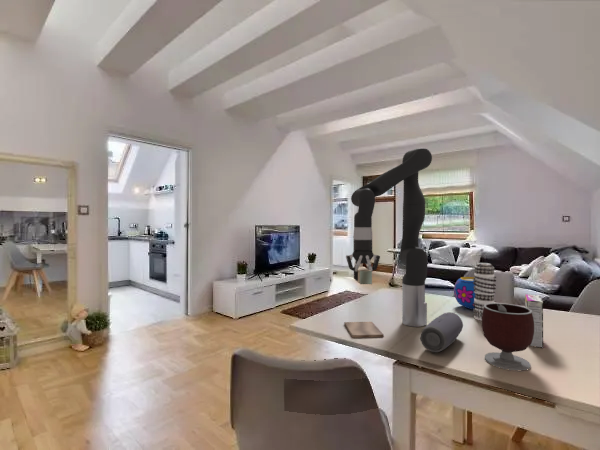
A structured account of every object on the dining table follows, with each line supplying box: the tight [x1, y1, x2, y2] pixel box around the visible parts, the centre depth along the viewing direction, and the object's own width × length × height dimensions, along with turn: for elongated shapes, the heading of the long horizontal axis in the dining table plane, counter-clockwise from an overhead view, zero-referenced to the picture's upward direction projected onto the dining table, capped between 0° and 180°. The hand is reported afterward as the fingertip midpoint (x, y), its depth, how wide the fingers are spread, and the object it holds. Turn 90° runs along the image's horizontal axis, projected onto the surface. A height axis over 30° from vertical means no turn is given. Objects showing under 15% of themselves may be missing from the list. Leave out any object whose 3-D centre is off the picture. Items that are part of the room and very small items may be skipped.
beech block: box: [356, 266, 373, 285], centre depth 134 cm, size 4×5×12 cm
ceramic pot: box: [453, 276, 475, 310], centre depth 166 cm, size 18×18×15 cm
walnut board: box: [343, 321, 384, 339], centre depth 133 cm, size 12×16×1 cm
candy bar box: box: [524, 293, 544, 349], centre depth 120 cm, size 11×5×16 cm, turn 148°
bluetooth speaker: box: [419, 312, 464, 353], centre depth 117 cm, size 23×9×10 cm, turn 141°
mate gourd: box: [481, 302, 534, 371], centre depth 102 cm, size 16×14×20 cm
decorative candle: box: [473, 262, 497, 321], centre depth 149 cm, size 9×9×25 cm
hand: (362, 280), depth 133 cm, fingers closed on beech block, 4 cm apart
